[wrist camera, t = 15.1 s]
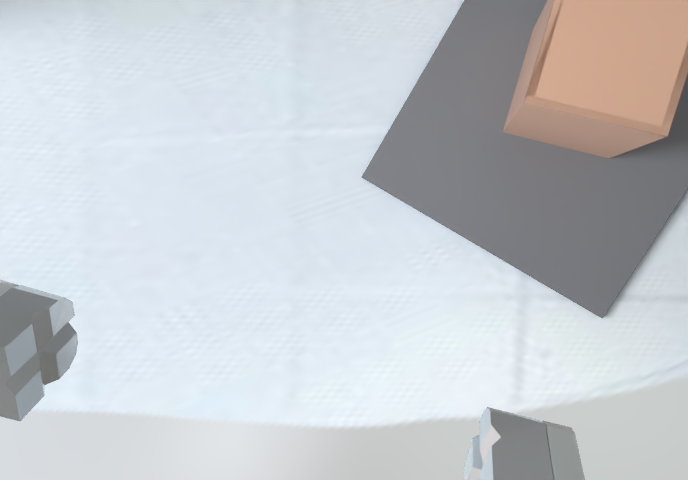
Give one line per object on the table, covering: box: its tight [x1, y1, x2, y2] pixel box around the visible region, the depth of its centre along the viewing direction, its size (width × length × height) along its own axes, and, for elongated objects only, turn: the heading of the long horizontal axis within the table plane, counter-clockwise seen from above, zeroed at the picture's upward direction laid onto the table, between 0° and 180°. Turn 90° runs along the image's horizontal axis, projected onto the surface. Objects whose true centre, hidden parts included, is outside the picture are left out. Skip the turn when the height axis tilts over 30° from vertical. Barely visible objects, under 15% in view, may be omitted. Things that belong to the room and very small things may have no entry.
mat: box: [362, 0, 688, 318], centre depth 29 cm, size 16×20×5 cm
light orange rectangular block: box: [503, 0, 688, 158], centre depth 27 cm, size 6×6×8 cm
